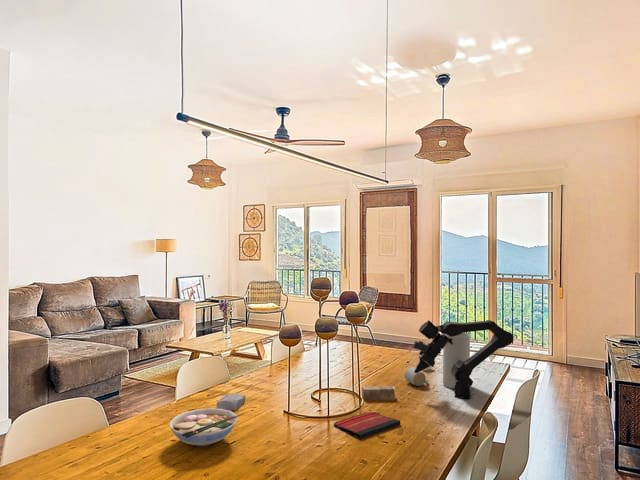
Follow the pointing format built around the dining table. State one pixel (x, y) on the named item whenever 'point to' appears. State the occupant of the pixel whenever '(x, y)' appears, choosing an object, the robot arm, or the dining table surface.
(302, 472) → the dining table surface
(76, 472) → the dining table surface
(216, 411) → the ramen bowl
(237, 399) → the stone block
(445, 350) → the cylinder vase
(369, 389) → the walnut block
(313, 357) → the dining table surface
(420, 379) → the ceramic mug
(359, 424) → the binder
